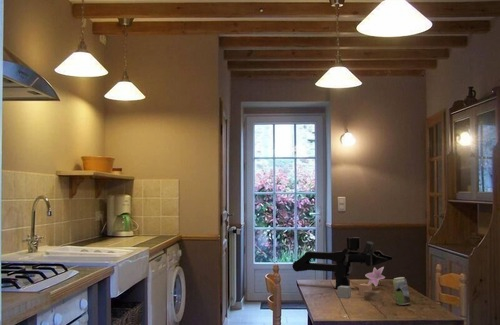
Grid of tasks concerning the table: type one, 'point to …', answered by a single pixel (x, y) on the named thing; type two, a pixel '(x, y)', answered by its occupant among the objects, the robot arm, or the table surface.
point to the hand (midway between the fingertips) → (390, 259)
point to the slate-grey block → (344, 291)
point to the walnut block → (372, 295)
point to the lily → (375, 276)
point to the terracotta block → (364, 288)
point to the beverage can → (401, 291)
